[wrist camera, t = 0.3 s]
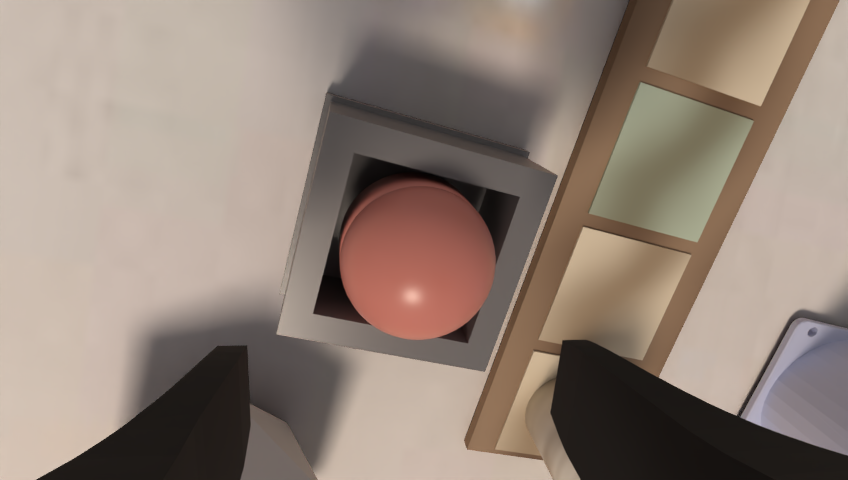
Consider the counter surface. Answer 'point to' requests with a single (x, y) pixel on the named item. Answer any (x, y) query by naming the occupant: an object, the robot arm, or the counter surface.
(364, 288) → the popper dome
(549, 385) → the pawn
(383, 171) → the frame
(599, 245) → the board
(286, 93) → the counter surface
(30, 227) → the counter surface
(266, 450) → the die
